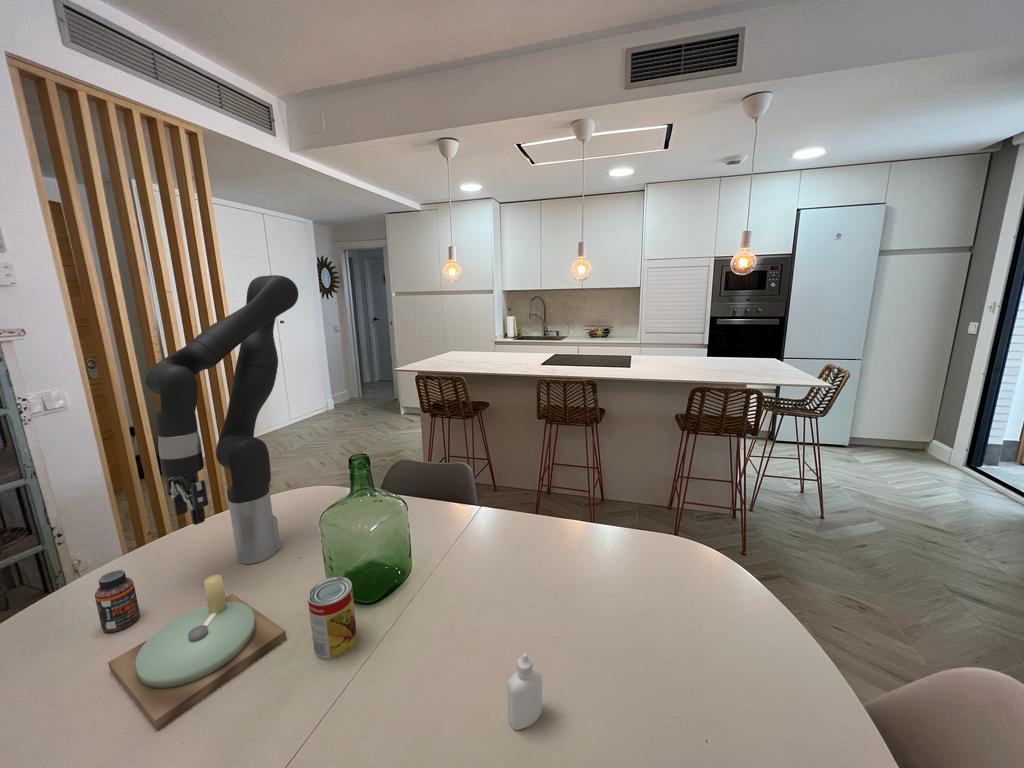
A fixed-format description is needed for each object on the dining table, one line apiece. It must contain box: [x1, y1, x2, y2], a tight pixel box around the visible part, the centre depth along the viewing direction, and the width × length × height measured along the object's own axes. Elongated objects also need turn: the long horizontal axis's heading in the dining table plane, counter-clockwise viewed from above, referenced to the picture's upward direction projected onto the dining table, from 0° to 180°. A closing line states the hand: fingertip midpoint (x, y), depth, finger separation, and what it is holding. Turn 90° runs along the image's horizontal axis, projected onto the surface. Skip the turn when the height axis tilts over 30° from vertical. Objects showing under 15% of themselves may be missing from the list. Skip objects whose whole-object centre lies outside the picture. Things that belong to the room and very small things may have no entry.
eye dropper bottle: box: [506, 652, 543, 731], centre depth 66 cm, size 4×6×12 cm
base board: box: [107, 593, 287, 732], centre depth 79 cm, size 21×21×2 cm
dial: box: [136, 574, 255, 688], centre depth 78 cm, size 18×18×9 cm
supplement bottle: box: [94, 569, 141, 633], centre depth 87 cm, size 6×6×11 cm
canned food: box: [307, 576, 358, 661], centre depth 81 cm, size 8×8×12 cm
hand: (190, 518), depth 96 cm, fingers open, 8 cm apart
